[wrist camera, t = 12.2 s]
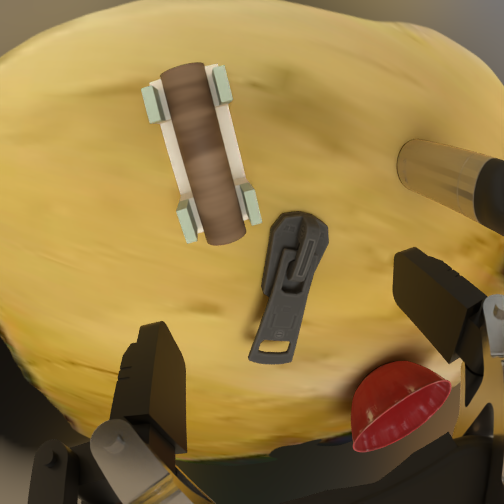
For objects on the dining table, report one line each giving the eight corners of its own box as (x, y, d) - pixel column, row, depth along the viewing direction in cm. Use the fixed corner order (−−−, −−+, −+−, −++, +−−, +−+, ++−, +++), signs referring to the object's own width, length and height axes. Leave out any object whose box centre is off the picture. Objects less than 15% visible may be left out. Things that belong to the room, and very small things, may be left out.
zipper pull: (244, 364, 45) (289, 220, 36) (239, 338, 51) (276, 206, 42) (293, 365, 47) (348, 233, 38) (284, 341, 53) (330, 217, 44)
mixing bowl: (438, 343, 66) (468, 379, 52) (382, 409, 75) (402, 444, 61) (375, 334, 57) (409, 383, 44) (313, 412, 67) (330, 458, 53)
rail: (162, 79, 27) (157, 72, 23) (203, 68, 28) (204, 59, 23) (206, 234, 36) (207, 249, 32) (242, 223, 37) (249, 237, 32)
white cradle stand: (151, 83, 31) (136, 72, 23) (217, 65, 32) (221, 48, 24) (193, 231, 41) (191, 259, 33) (253, 214, 42) (266, 238, 33)
